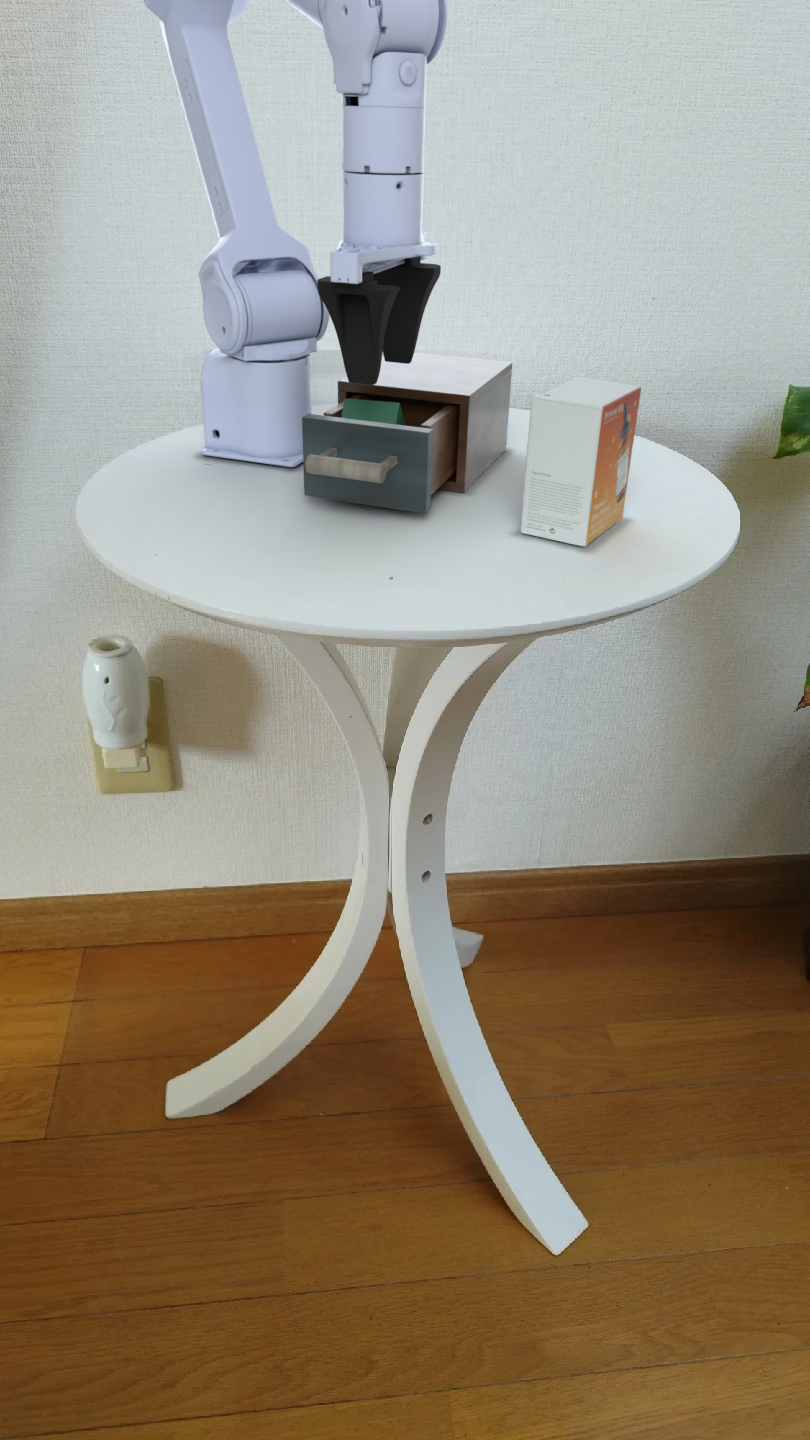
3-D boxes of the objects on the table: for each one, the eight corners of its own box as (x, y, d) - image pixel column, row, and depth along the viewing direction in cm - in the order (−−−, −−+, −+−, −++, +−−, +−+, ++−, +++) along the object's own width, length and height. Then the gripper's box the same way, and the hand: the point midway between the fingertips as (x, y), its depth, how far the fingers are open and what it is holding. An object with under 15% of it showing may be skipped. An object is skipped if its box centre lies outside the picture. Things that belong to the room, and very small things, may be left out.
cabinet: (464, 493, 86) (469, 395, 82) (338, 475, 89) (337, 380, 85) (506, 449, 97) (512, 362, 93) (392, 435, 100) (394, 350, 96)
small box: (585, 550, 76) (602, 407, 70) (517, 534, 78) (529, 394, 73) (624, 519, 82) (644, 385, 76) (561, 505, 84) (575, 374, 79)
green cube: (335, 444, 80) (344, 398, 81) (347, 469, 84) (355, 425, 85) (391, 449, 79) (399, 402, 80) (399, 474, 84) (407, 430, 84)
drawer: (407, 532, 76) (409, 448, 72) (280, 512, 78) (277, 431, 75) (471, 468, 89) (476, 394, 86) (362, 453, 92) (362, 382, 89)
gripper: (401, 180, 64) (397, 398, 71) (467, 169, 76) (458, 358, 83) (299, 175, 66) (305, 388, 73) (379, 165, 78) (378, 350, 85)
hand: (381, 372), depth 78 cm, fingers open, 7 cm apart
